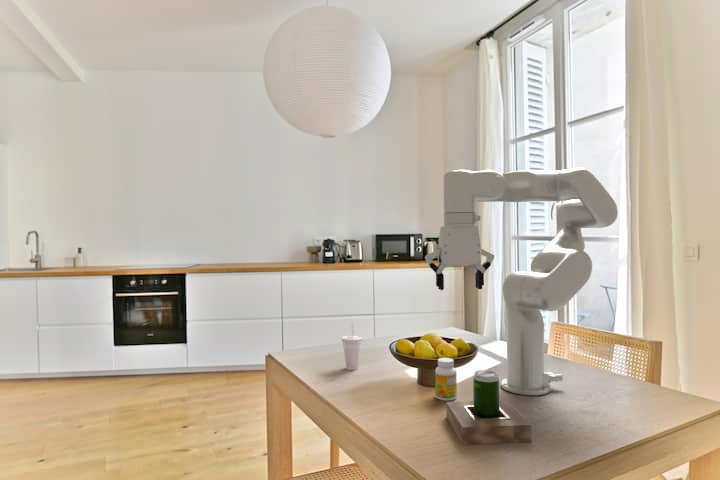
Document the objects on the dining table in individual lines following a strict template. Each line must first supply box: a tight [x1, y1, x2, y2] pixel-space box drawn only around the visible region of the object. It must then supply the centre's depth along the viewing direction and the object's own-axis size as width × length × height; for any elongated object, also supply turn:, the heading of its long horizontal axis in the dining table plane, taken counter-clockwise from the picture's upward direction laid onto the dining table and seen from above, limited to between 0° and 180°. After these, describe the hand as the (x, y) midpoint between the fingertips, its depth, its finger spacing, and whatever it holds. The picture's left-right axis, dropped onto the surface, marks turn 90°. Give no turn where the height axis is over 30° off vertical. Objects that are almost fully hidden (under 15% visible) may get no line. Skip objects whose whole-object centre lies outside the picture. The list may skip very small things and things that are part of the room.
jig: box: [445, 399, 532, 446], centre depth 103 cm, size 14×14×4 cm
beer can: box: [472, 369, 500, 418], centre depth 103 cm, size 5×5×12 cm
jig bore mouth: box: [463, 406, 510, 421], centre depth 103 cm, size 8×8×1 cm
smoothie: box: [341, 323, 363, 371], centre depth 149 cm, size 6×6×14 cm
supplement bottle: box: [434, 357, 458, 402], centre depth 122 cm, size 5×5×10 cm
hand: (459, 289), depth 119 cm, fingers open, 9 cm apart
